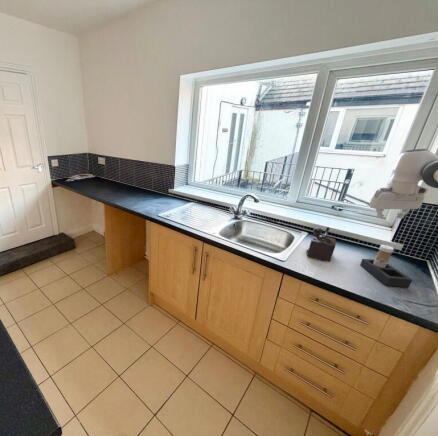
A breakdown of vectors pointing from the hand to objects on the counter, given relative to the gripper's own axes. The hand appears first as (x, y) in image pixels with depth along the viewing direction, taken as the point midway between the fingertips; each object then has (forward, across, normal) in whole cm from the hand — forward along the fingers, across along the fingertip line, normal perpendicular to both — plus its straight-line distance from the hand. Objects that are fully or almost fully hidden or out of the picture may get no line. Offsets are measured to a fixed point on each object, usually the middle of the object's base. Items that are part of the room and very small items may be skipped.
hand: (389, 217), depth 109 cm
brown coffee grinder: (+26, -19, +11) cm, 34 cm away
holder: (+26, 0, -6) cm, 27 cm away
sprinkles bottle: (+26, +1, -2) cm, 27 cm away
